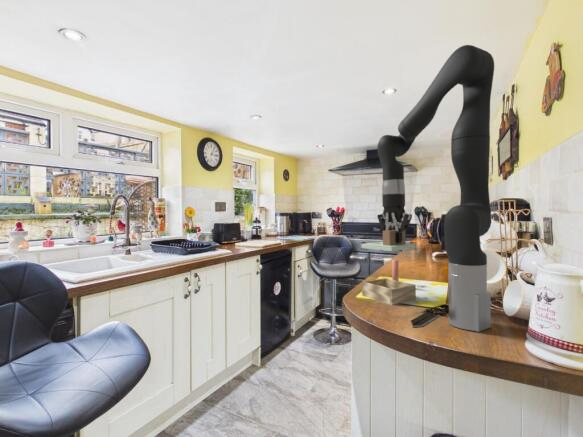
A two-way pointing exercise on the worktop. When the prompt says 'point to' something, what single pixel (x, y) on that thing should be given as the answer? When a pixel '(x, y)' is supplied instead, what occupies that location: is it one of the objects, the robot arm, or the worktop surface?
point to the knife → (430, 315)
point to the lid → (389, 242)
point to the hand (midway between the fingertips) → (394, 242)
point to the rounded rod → (395, 270)
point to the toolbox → (389, 290)
